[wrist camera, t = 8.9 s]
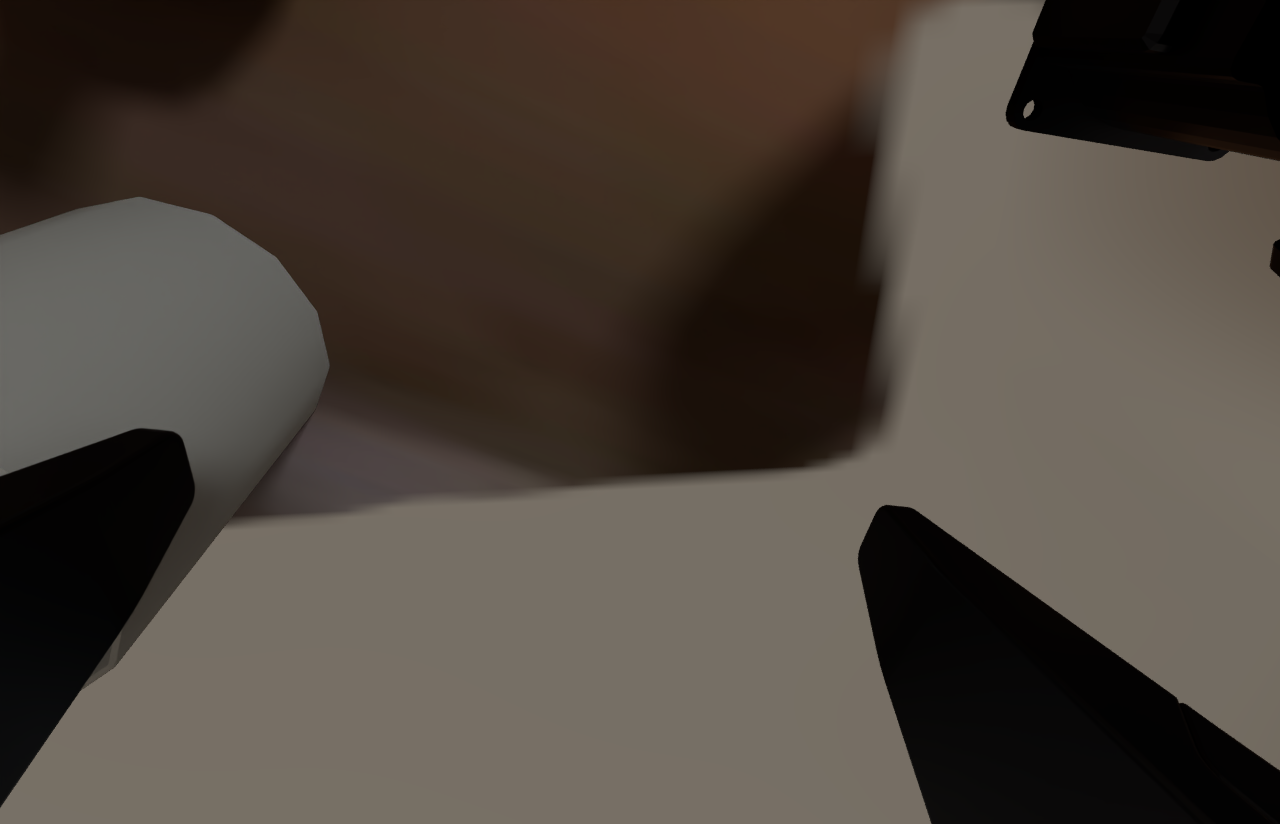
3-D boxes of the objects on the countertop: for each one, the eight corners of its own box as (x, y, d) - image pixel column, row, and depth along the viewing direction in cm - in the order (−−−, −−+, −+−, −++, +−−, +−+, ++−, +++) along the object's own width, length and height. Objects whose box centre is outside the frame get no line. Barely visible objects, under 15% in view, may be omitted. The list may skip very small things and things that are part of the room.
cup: (349, 448, 22) (183, 713, 14) (105, 443, 22) (-228, 714, 13) (291, 203, 18) (-8, 368, 9) (-18, 189, 17) (-640, 350, 9)
